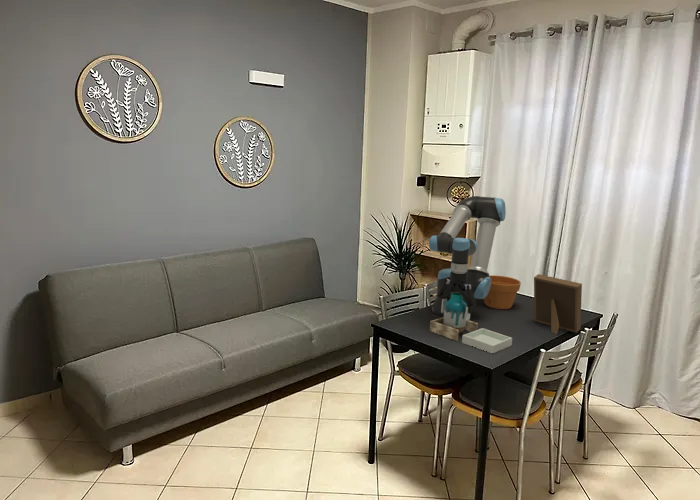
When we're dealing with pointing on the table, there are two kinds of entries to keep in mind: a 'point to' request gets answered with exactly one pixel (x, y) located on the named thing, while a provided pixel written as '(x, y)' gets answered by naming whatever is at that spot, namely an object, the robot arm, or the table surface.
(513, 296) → the flower pot
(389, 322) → the table surface
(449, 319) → the vase
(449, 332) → the wooden open crate
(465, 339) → the tray
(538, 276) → the photo frame
